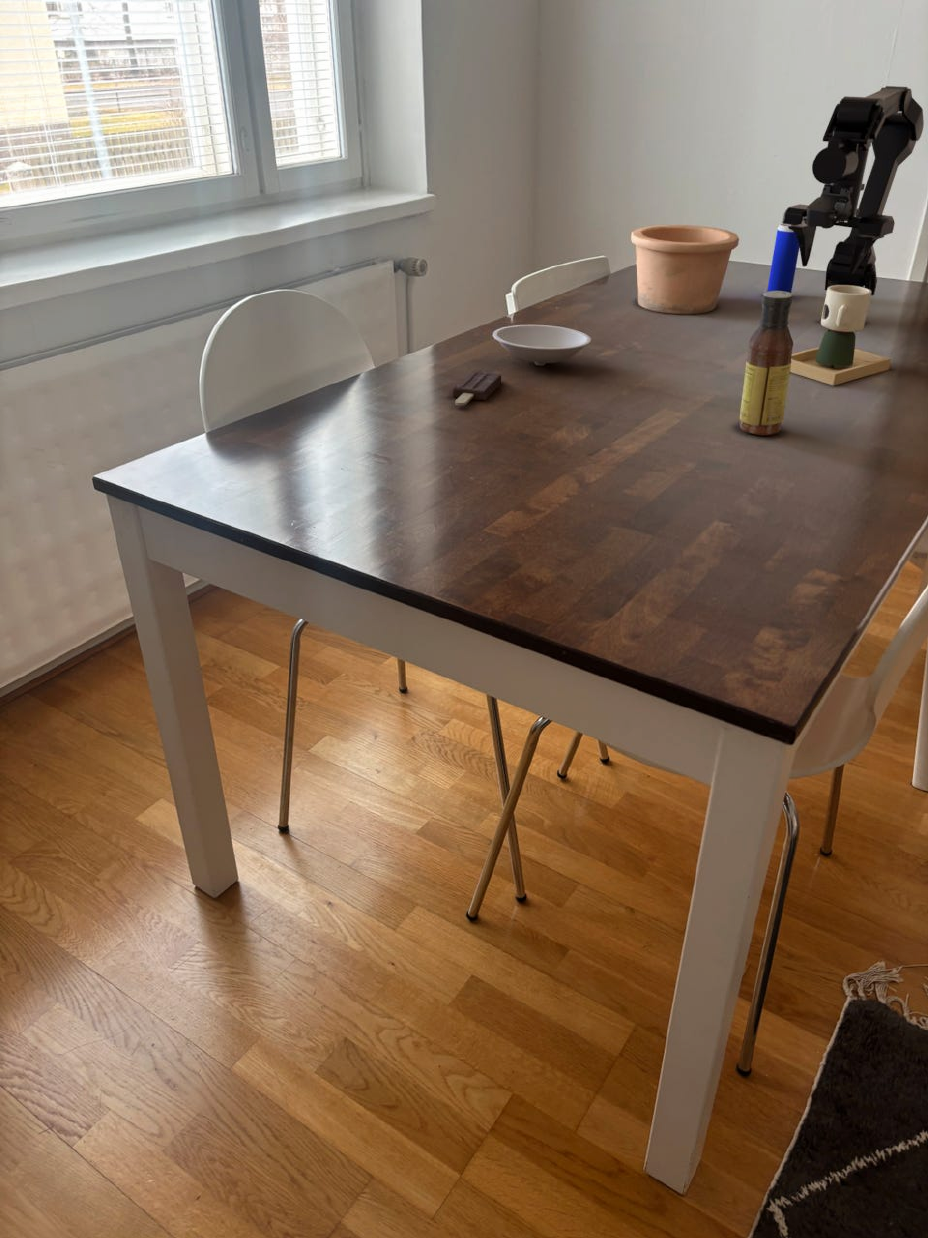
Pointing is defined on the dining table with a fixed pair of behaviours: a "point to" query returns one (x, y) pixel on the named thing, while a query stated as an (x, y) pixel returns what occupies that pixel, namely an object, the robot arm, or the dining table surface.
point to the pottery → (681, 267)
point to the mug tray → (861, 366)
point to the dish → (541, 342)
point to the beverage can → (784, 260)
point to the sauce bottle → (768, 367)
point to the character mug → (842, 323)
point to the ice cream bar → (476, 386)
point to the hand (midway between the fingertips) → (827, 269)
